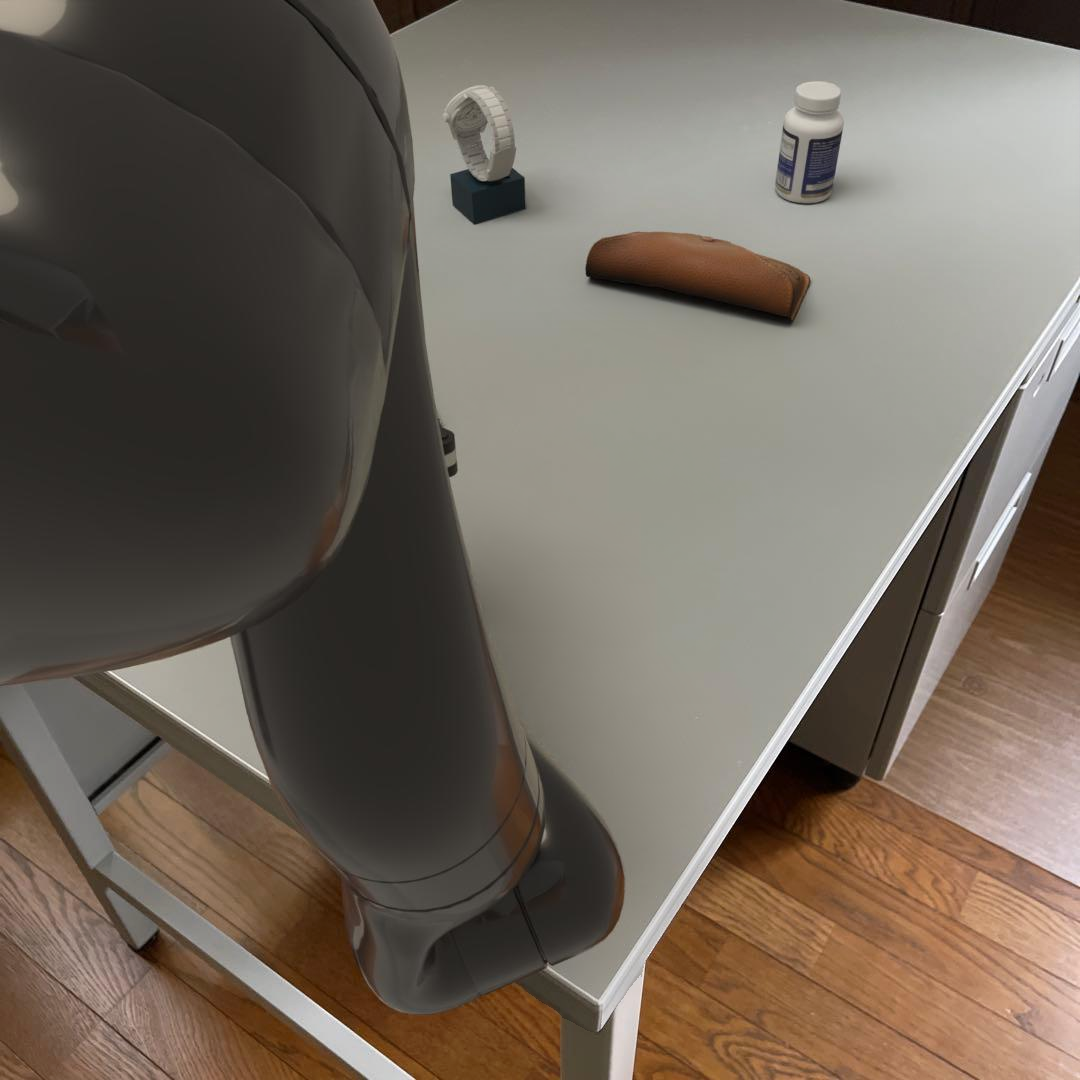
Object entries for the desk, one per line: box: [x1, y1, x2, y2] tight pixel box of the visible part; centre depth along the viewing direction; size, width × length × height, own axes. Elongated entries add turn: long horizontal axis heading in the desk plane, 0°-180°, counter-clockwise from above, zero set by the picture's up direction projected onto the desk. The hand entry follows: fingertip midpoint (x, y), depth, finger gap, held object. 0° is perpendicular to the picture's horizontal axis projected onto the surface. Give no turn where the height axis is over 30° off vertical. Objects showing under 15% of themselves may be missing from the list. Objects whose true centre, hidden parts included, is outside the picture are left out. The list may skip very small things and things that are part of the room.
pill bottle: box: [774, 80, 845, 204], centre depth 102 cm, size 5×5×10 cm
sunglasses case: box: [584, 231, 811, 322], centre depth 93 cm, size 18×7×7 cm
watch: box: [441, 84, 527, 225], centre depth 101 cm, size 6×8×11 cm
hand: (312, 384), depth 65 cm, fingers closed
